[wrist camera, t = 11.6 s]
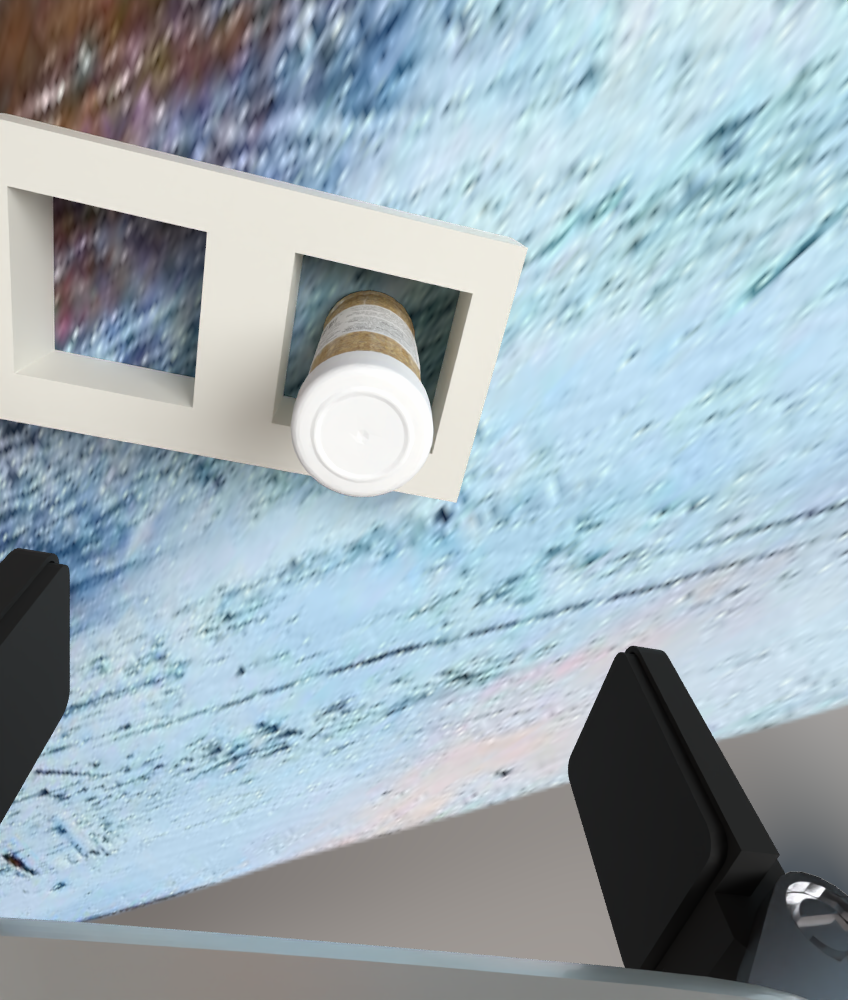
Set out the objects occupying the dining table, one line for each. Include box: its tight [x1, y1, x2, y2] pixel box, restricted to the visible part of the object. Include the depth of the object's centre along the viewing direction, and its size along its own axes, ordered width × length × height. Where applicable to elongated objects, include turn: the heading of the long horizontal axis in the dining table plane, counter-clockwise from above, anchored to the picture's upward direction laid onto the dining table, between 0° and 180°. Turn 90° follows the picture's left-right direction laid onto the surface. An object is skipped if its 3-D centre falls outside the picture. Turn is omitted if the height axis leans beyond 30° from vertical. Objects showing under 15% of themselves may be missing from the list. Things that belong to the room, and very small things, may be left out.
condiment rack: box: [0, 113, 528, 502], centre depth 31 cm, size 12×22×4 cm, turn 77°
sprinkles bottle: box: [291, 290, 433, 497], centre depth 27 cm, size 5×5×14 cm
